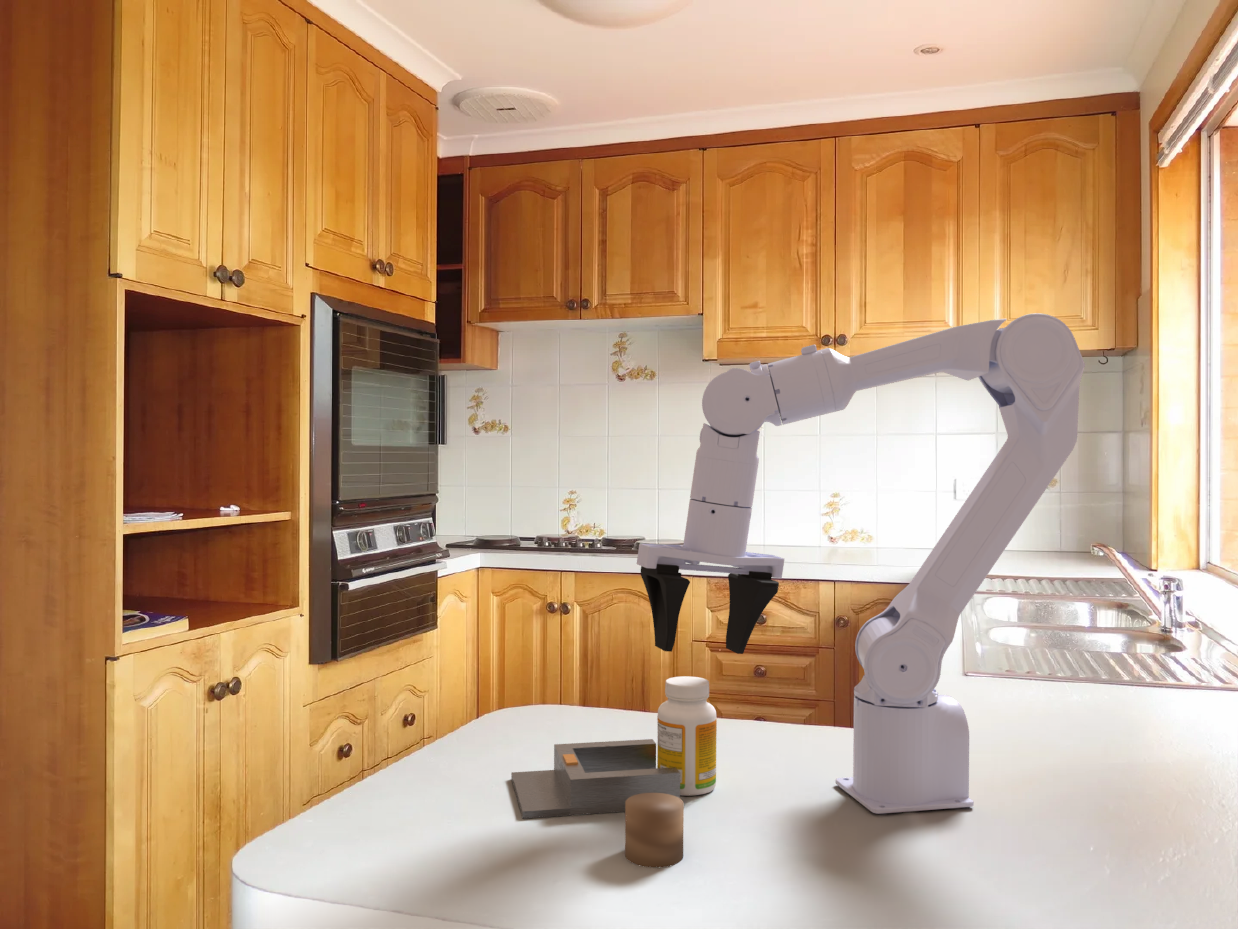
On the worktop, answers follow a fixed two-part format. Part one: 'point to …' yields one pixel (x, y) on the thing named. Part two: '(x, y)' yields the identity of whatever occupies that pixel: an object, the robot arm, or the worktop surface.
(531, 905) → the worktop surface
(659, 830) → the knob
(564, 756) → the socket
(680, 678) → the supplement bottle
